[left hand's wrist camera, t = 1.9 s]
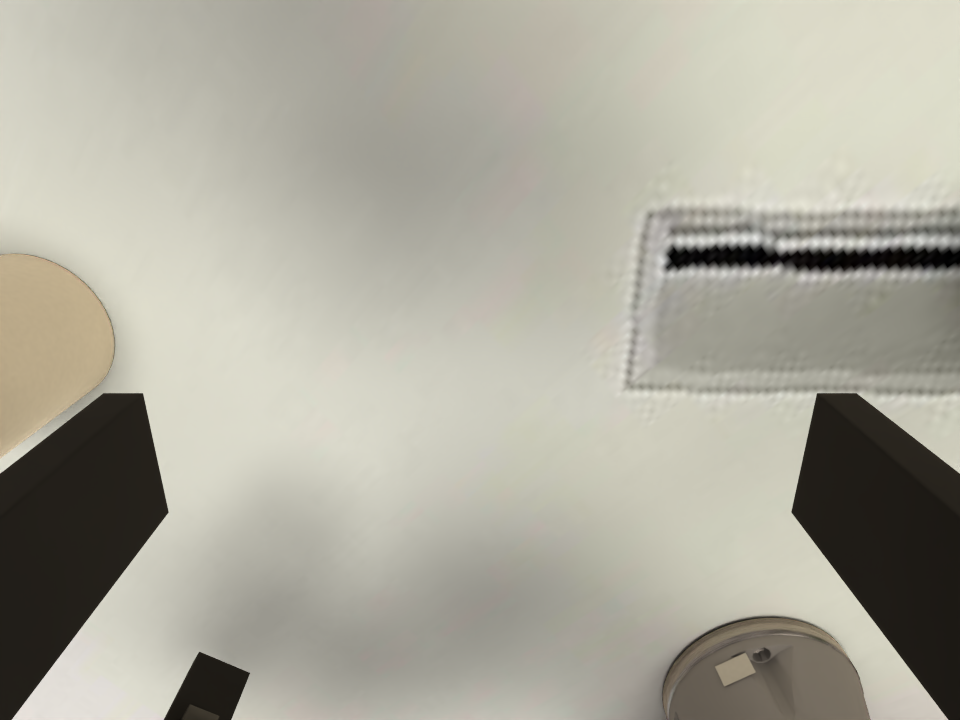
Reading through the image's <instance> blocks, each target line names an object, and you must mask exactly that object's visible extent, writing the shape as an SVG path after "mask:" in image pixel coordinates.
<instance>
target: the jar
mask: <svg viewBox="0 0 960 720" xmlns="http://www.w3.org/2000/svg"><path fill="white" fill-rule="evenodd" d="M113 357H114V335H113V329H112V326H111V323H110V320H109V317H108V315H107V313H106V311H105V309H104V307H103V306H102V304H101V302H100V301H99V299H98V298H97V297H96V295H95V294H94V293H93V292H92V291H91V290H90V288H89V287H88V286H87V285H86V284H85V283H84V282H82V281H81V280H80V279H79V278H78V277H77V276H75V275H74V274H72V273H71V272H69V271H68V270H66V269H65V268H63V267H61V266H59V265H57V264H55V263H53V262H50V261H48V260H46V259H42V258H39V257H35V256H30V255H24V254H4V255H0V458H2V457H3V456H4V455H6V454H7V453H8V452H10V451H11V450H12V449H14V448H15V447H16V446H18V445H19V444H20V443H22V442H23V441H24V440H26V439H27V438H28V437H30V436H31V435H33V434H34V433H35V432H37V431H38V430H39V429H41V428H42V427H43V426H45V425H46V424H47V423H49V422H50V421H51V420H53V419H54V418H55V417H57V416H58V415H59V414H61V413H62V412H63V411H65V410H66V409H67V408H69V407H70V406H71V405H73V404H74V403H75V402H77V401H78V400H79V399H81V398H82V397H83V396H85V395H86V394H87V393H89V392H90V391H91V390H93V389H94V388H95V387H97V386H98V385H99V384H100V383H101V382H102V381H103V379H104V378H105V376H106V375H107V373H108V371H109V369H110V367H111V364H112V361H113Z"/></svg>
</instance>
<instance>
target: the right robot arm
mask: <svg viewBox="0 0 960 720" xmlns="http://www.w3.org/2000/svg"><path fill="white" fill-rule="evenodd" d="M249 674H250V673H249V672H246V671H244V670H241V669H239V668H237V667H234V666H232V665H230V664H227V663H225V662H222V661H220V660H218V659H215V658H213V657H211V656H208V655H206V654H203V653H201V652H199V653H198V655H197V657H196V659H195V660H194V662H193V664H192V666H191V668H190V670H189V672H188V674H187V676H186V678H185V680H184V681H183V683H182V685H181V687H180V689H179V691H178V693H177V695H176V697H175V699H174V701H173V703H172V705H171V707H170V709H169V711H168V713H167V715H166V717H165V718H164V720H231V719H232V716H233V714H234V711H235V709H236V706H237V704H238V702H239V699H240V697H241V694H242V692H243V689H244V687H245V684H246V682H247V679H248V677H249ZM663 706H664V710H665V714H666V717H667V720H870V717H869V713H868V709H867V706H866V702H865V699H864V693H863V688H862V685H861V682H860V678H859V675H858V673H857V671H856V669H855V667H854V666H853V664H852V662H851V661H850V659H849V658H848V656H847V655H846V653H845V652H844V650H843V649H842V648H841V646H840V645H839V644H838V643H837V642H836V641H835V640H834V639H833V638H832V637H831V636H830V635H828V634H827V633H826V632H824V631H822V630H821V629H819V628H817V627H815V626H812V625H810V624H807V623H804V622H800V621H796V620H791V619H783V618H760V619H752V620H746V621H741V622H737V623H734V624H730V625H727V626H725V627H722V628H720V629H717V630H715V631H713V632H711V633H709V634H707V635H706V636H704V637H702V638H701V639H699V640H698V641H696V642H695V643H694V644H692V645H691V646H690V647H689V648H688V649H686V650H685V651H684V652H683V653H682V654H681V656H680V657H679V658H678V659H677V660H676V662H675V663H674V664H673V666H672V668H671V669H670V671H669V673H668V675H667V678H666V680H665V684H664V688H663Z"/></svg>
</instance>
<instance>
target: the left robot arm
mask: <svg viewBox="0 0 960 720" xmlns="http://www.w3.org/2000/svg"><path fill="white" fill-rule="evenodd" d="M167 514H168V508H167V503H166V498H165V494H164V489H163V484H162V480H161V475H160V470H159V466H158V461H157V457H156V452H155V447H154V443H153V438H152V433H151V429H150V424H149V419H148V415H147V410H146V406H145V401H144V396H143V393H103V394H102V395H101V396H100V397H98V398H97V399H96V400H94V401H93V402H92V403H91V404H89V405H88V406H87V407H85V408H84V409H83V410H82V411H80V412H79V413H78V414H76V415H75V416H74V417H73V418H71V419H70V420H69V421H67V422H66V423H65V424H64V425H62V426H61V427H60V428H58V429H57V430H56V431H55V432H53V433H52V434H51V435H49V436H48V437H47V438H46V439H44V440H43V441H42V442H40V443H39V444H38V445H37V446H35V447H34V448H33V449H31V450H30V451H29V452H28V453H26V454H25V455H24V456H23V457H21V458H20V459H19V460H17V461H16V462H15V463H14V464H12V465H11V466H10V467H8V468H7V469H6V470H5V471H3V472H2V473H1V474H0V720H12V719H13V717H14V716H15V715H16V713H17V712H18V711H19V709H20V708H21V707H22V705H23V704H24V703H25V701H26V700H27V699H28V697H29V696H30V695H31V693H32V692H33V691H34V689H35V688H36V687H37V685H38V684H39V683H40V681H41V680H42V679H43V678H44V676H45V675H46V674H47V672H48V671H49V670H50V668H51V667H52V666H53V664H54V663H55V662H56V660H57V659H58V658H59V656H60V655H61V654H62V652H63V651H64V650H65V648H66V647H67V646H68V644H69V643H70V642H71V641H72V639H73V638H74V637H75V635H76V634H77V633H78V631H79V630H80V629H81V627H82V626H83V625H84V623H85V622H86V621H87V619H88V618H89V617H90V615H91V614H92V613H93V611H94V610H95V609H96V607H97V606H98V605H99V603H100V602H101V601H102V600H103V598H104V597H105V596H106V594H107V593H108V592H109V590H110V589H111V588H112V586H113V585H114V584H115V582H116V581H117V580H118V578H119V577H120V576H121V574H122V573H123V572H124V570H125V569H126V568H127V566H128V565H129V564H130V563H131V561H132V560H133V559H134V557H135V556H136V555H137V553H138V552H139V551H140V549H141V548H142V547H143V545H144V544H145V543H146V541H147V540H148V539H149V537H150V536H151V535H152V533H153V532H154V531H155V529H156V528H157V527H158V525H159V524H160V523H161V522H162V520H163V519H164V518H165V516H166V515H167ZM792 514H793V515H794V516H795V518H796V519H797V520H798V522H799V523H800V524H801V525H802V527H803V528H804V529H805V531H806V532H807V533H808V535H809V536H810V537H811V539H812V540H813V541H814V543H815V544H816V545H817V547H818V548H819V549H820V551H821V552H822V553H823V555H824V556H825V557H826V559H827V560H828V561H829V563H830V564H831V565H832V566H833V568H834V569H835V570H836V572H837V573H838V574H839V576H840V577H841V578H842V580H843V581H844V582H845V584H846V585H847V586H848V588H849V589H850V590H851V592H852V593H853V594H854V596H855V597H856V598H857V600H858V601H859V602H860V603H861V605H862V606H863V607H864V609H865V610H866V611H867V613H868V614H869V615H870V617H871V618H872V619H873V621H874V622H875V623H876V625H877V626H878V627H879V629H880V630H881V631H882V633H883V634H884V635H885V637H886V638H887V639H888V641H889V642H890V643H891V644H892V646H893V647H894V648H895V650H896V651H897V652H898V654H899V655H900V656H901V658H902V659H903V660H904V662H905V663H906V664H907V666H908V667H909V668H910V670H911V671H912V672H913V674H914V675H915V676H916V678H917V679H918V680H919V681H920V683H921V684H922V685H923V687H924V688H925V689H926V691H927V692H928V693H929V695H930V696H931V697H932V699H933V700H934V701H935V703H936V704H937V705H938V707H939V708H940V709H941V711H942V712H943V713H944V715H945V716H946V717H947V719H948V720H960V474H959V473H958V472H957V471H955V470H954V469H953V468H952V467H950V466H949V465H948V464H946V463H945V462H944V461H943V460H941V459H940V458H939V457H937V456H936V455H935V454H934V453H932V452H931V451H930V450H929V449H927V448H926V447H925V446H923V445H922V444H921V443H920V442H918V441H917V440H916V439H914V438H913V437H912V436H911V435H909V434H908V433H907V432H905V431H904V430H903V429H902V428H900V427H899V426H898V425H896V424H895V423H894V422H893V421H891V420H890V419H889V418H887V417H886V416H885V415H884V414H882V413H881V412H880V411H878V410H877V409H876V408H875V407H873V406H872V405H871V404H869V403H868V402H867V401H866V400H864V399H863V398H862V397H860V396H859V395H858V394H857V393H817V396H816V401H815V406H814V410H813V415H812V419H811V424H810V429H809V433H808V438H807V443H806V447H805V452H804V457H803V461H802V466H801V470H800V475H799V480H798V484H797V489H796V494H795V498H794V503H793V508H792Z"/></svg>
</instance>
